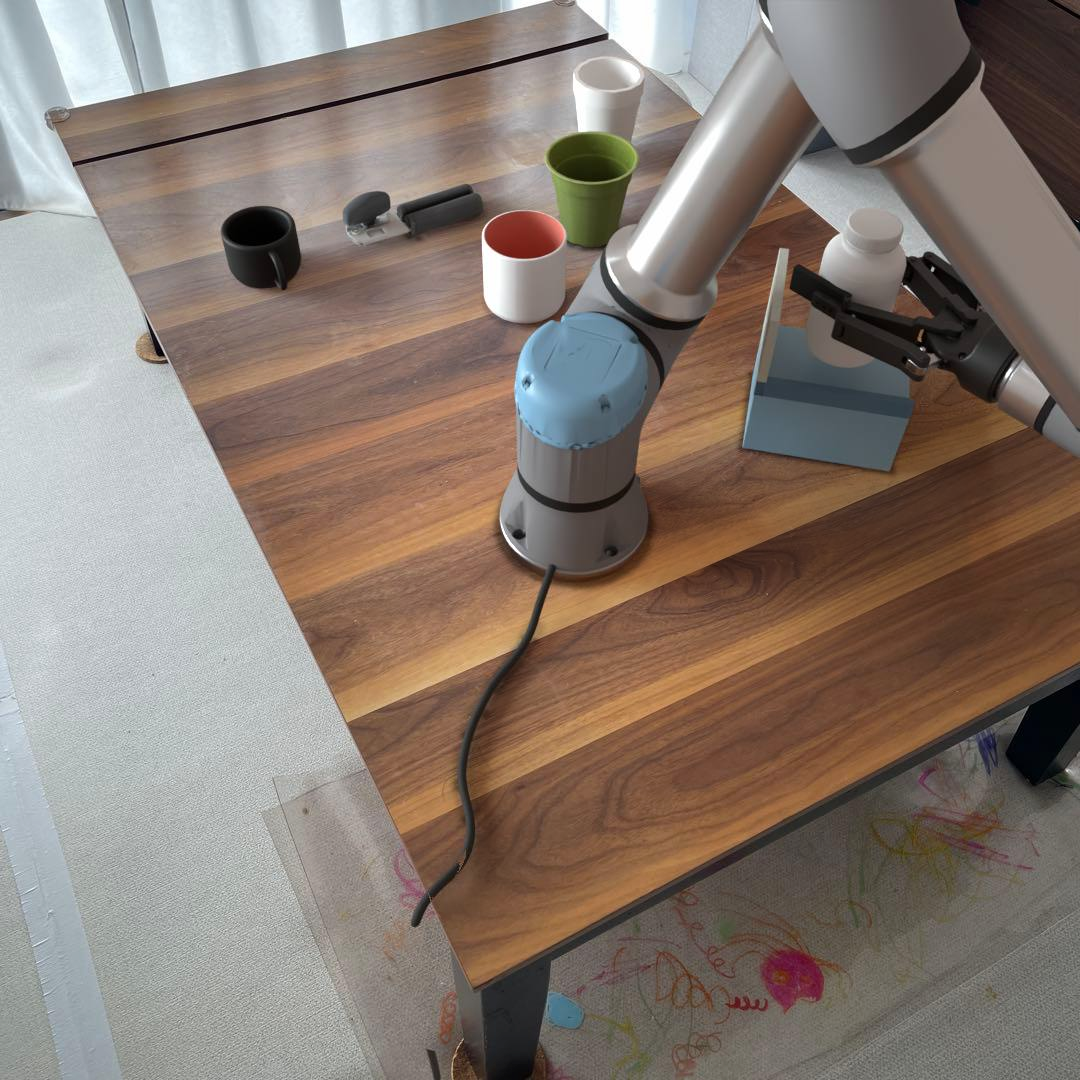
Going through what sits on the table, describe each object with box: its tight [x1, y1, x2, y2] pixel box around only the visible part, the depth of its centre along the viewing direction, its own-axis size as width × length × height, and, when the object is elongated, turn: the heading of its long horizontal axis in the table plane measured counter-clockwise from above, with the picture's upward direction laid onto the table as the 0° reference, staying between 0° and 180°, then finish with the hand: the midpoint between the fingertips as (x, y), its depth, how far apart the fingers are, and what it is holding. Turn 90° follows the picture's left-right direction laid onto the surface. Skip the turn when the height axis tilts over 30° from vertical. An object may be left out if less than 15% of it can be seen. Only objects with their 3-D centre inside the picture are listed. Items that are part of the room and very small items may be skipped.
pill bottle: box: [805, 207, 907, 368], centre depth 111 cm, size 8×8×15 cm
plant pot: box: [544, 131, 640, 248], centre depth 143 cm, size 12×12×11 cm
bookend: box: [741, 247, 915, 472], centre depth 119 cm, size 12×16×18 cm
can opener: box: [342, 183, 484, 247], centre depth 145 cm, size 19×5×6 cm, turn 121°
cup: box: [481, 209, 568, 325], centre depth 135 cm, size 10×10×10 cm
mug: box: [220, 205, 302, 291], centre depth 138 cm, size 12×9×7 cm
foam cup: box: [572, 55, 646, 144], centre depth 153 cm, size 10×9×13 cm
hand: (821, 258), depth 113 cm, fingers closed on pill bottle, 8 cm apart
